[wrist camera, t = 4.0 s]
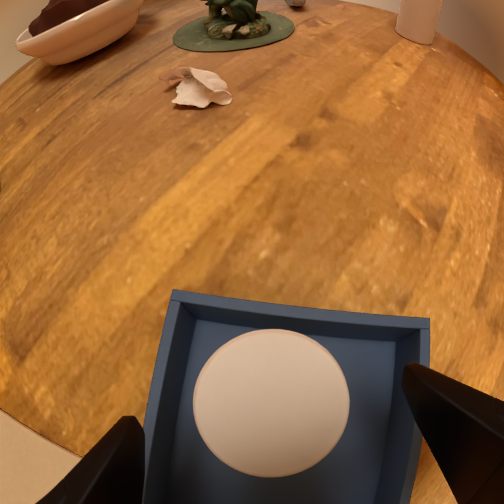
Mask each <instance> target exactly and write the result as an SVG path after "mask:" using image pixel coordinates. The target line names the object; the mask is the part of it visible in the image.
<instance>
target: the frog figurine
mask: <svg viewBox="0 0 504 504" xmlns="http://www.w3.org/2000/svg"><path fill="white" fill-rule="evenodd" d="M201 1H208V2H207V3H205V5H208V6H209V16H206V17H203V18H199V19H197V20H194V21H192V22H190V23H188V24H186V25H185V26H183V27H182V28H180V29H179V30H178V31H177V32H176V33H175V34H174V36H173V42H174V44H175V45H177V46H178V47H180V48H183V49H187V50H192V51H227V50H236V49H243V48H249V47H256V46H261V45H265V44H269V43H272V42H275V41H278V40H281V39H284V38H286V37H288V36H289V35H290V34H291V33H292V31H293V30H294V24H293V22H292V21H291V20H289V19H288V18H286V17H284V16H282V15H278V14H275V13H271V12H267V11H256V6H257V2H258V0H201ZM222 8H224V9H225V10H224V11H226V12H223V11H221V10H222ZM222 12H223V13H222Z"/></svg>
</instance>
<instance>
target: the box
mask: <svg viewBox="0 0 504 504" xmlns="http://www.w3.org/2000/svg"><path fill="white" fill-rule="evenodd" d="M264 329H283V330H289V331H293V332H297V333H300V334H303V335H305V336H307V337H309V338H311V339H313V340H315V341H316V342H318V343H319V344H320V345H322V346H323V347H324V348H326V349H327V350H328V351H329V353H330V354H331V355H332V356H333V357H334V359H335V360H336V361H337V363H338V364H339V366H340V368H341V370H342V372H343V374H344V377H345V380H346V383H347V387H348V391H349V399H350V405H349V415H348V420H347V424H346V427H345V429H344V432H343V434H342V436H341V437H340V439H339V441H338V442H337V444H336V445H335V447H334V448H333V449H332V450H331V452H330V453H329V454H328V455H327V456H325V457H324V458H323V459H322V460H321V461H320V462H318V463H317V464H315V465H314V466H312V467H310V468H308V469H306V470H304V471H302V472H299V473H296V474H293V475H288V476H284V477H258V476H253V475H248V474H246V473H243V472H240V471H238V470H236V469H234V468H232V467H230V466H228V465H227V464H225V463H224V462H222V461H221V460H220V459H219V458H218V457H216V456H215V455H214V453H213V452H212V451H211V450H210V449H209V448H208V446H207V445H206V443H205V442H204V440H203V438H202V437H201V435H200V433H199V431H198V428H197V425H196V422H195V418H194V413H193V394H194V388H195V385H196V381H197V378H198V376H199V374H200V372H201V370H202V368H203V367H204V365H205V363H206V362H207V361H208V359H209V358H210V357H211V356H212V355H213V354H214V353H215V352H216V350H218V349H219V348H220V347H221V346H223V345H224V344H226V343H227V342H228V341H230V340H232V339H234V338H235V337H238V336H240V335H242V334H245V333H248V332H251V331H256V330H264ZM412 362H417V363H419V364H421V365H423V366H426V367H428V368H429V363H430V318H420V317H406V316H392V315H380V314H368V313H357V312H346V311H336V310H326V309H317V308H308V307H299V306H290V305H282V304H274V303H266V302H258V301H250V300H243V299H236V298H229V297H222V296H215V295H208V294H201V293H195V292H188V291H182V290H176V289H173V290H172V294H171V298H170V302H169V306H168V310H167V314H166V318H165V323H164V327H163V331H162V336H161V340H160V344H159V349H158V354H157V358H156V363H155V368H154V373H153V378H152V382H151V388H150V393H149V398H148V403H147V409H146V414H145V420H144V426H143V430H144V432H145V479H144V488H143V498H142V504H409V502H410V498H411V494H412V489H413V485H414V481H415V476H416V471H417V466H418V461H419V456H420V450H421V444H422V437H423V435H422V433H421V432H420V430H419V428H418V426H417V424H416V422H415V420H414V417H413V415H412V413H411V410H410V408H409V405H408V403H407V400H406V398H405V396H404V393H403V391H402V388H401V378H402V372H403V367H404V366H405V365H406V364H409V363H412Z"/></svg>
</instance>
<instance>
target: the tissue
mask: <svg viewBox="0 0 504 504" xmlns="http://www.w3.org/2000/svg"><path fill="white" fill-rule="evenodd" d="M188 76H191V77H188ZM182 78H183V80H182V82H181V83H180V84H179V85H178V86H177V87H176V88H177V90H176V93H177V97H176V98H175V99H173V100H172V103H178V104H186V105H195V106H197V107H200V108H201V107H202V108H204V107H206V106H207V105H209V103H210V102H215V103H217V104H221V105H226V104H229V103H230V102H231V101H232V95H231V94H230V93H229V92H228V91H225V90H226V89H227V84H226V82H225V81H223V80H221V79H220V76H219V75H217V74H215V73H213V72H210V71H204V70H199V69H196V68H193V67H181V68H174V69H171V70H169V71H166V72H164V73H162V74H160V75H159V79H162V80H163V81H164V82H166V85H168V86H167V87H171V86H172V85H170V84H169V80H175V79H182Z"/></svg>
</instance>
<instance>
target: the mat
mask: <svg viewBox="0 0 504 504" xmlns="http://www.w3.org/2000/svg"><path fill="white" fill-rule="evenodd" d="M82 458H83V457H81V456H78V455H76V454H74V453H72V452H70V451H69V450H67V449H65V448H63V447H61V446H59V445H57V444H55V443H54V442H52V441H50V440H48V439H46V438H45V437H43V436H41V435H40V434H38V433H36V432H35V431H33V430H31V429H30V428H28V427H27V426H25V425H23V424H22V423H20V422H19V421H17V420H16V419H14V418H13V417H11V416H10V415H8V414H7V413H6V412H4V411H3V410H1V409H0V504H35V503H37V502H38V501H39V500H40V499H42V498H43V497H44V496H45V495H46V494H47V493H49V492H50V491H51V490H52V489H53V488H54V487H55V486H56V485H57V484H58V483H59V482H60V481H61V480H62V479H64V477H65V476H66V475H67V474H68V473H69V472H70V471H71V470H72V469H73V467H74V466H75V465H76V464H77V463H78V462H79V461H80V460H81V459H82Z"/></svg>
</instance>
